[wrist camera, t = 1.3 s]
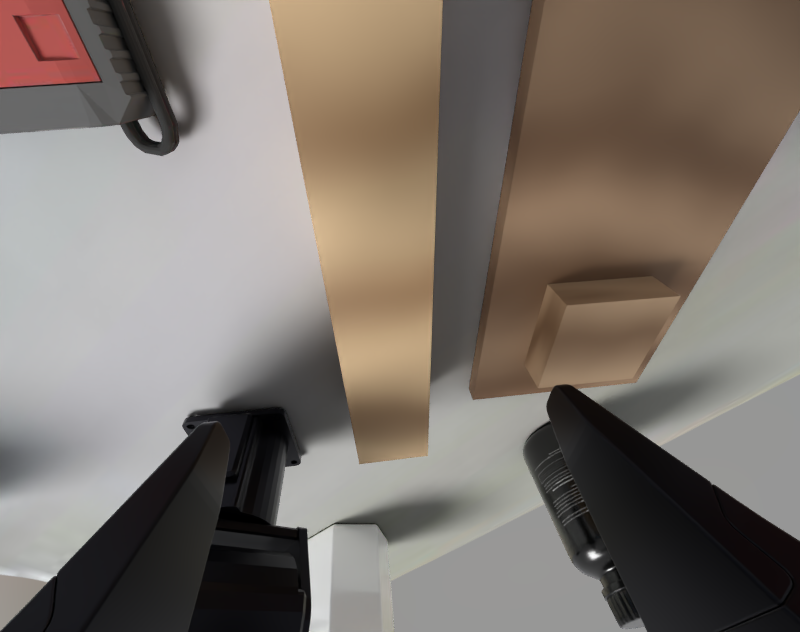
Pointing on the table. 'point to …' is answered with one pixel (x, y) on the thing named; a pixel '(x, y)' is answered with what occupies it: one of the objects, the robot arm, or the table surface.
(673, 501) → the robot arm
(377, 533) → the jar
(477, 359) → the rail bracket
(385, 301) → the oak rail
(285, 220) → the table surface
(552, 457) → the supplement bottle
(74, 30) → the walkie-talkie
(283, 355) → the table surface
